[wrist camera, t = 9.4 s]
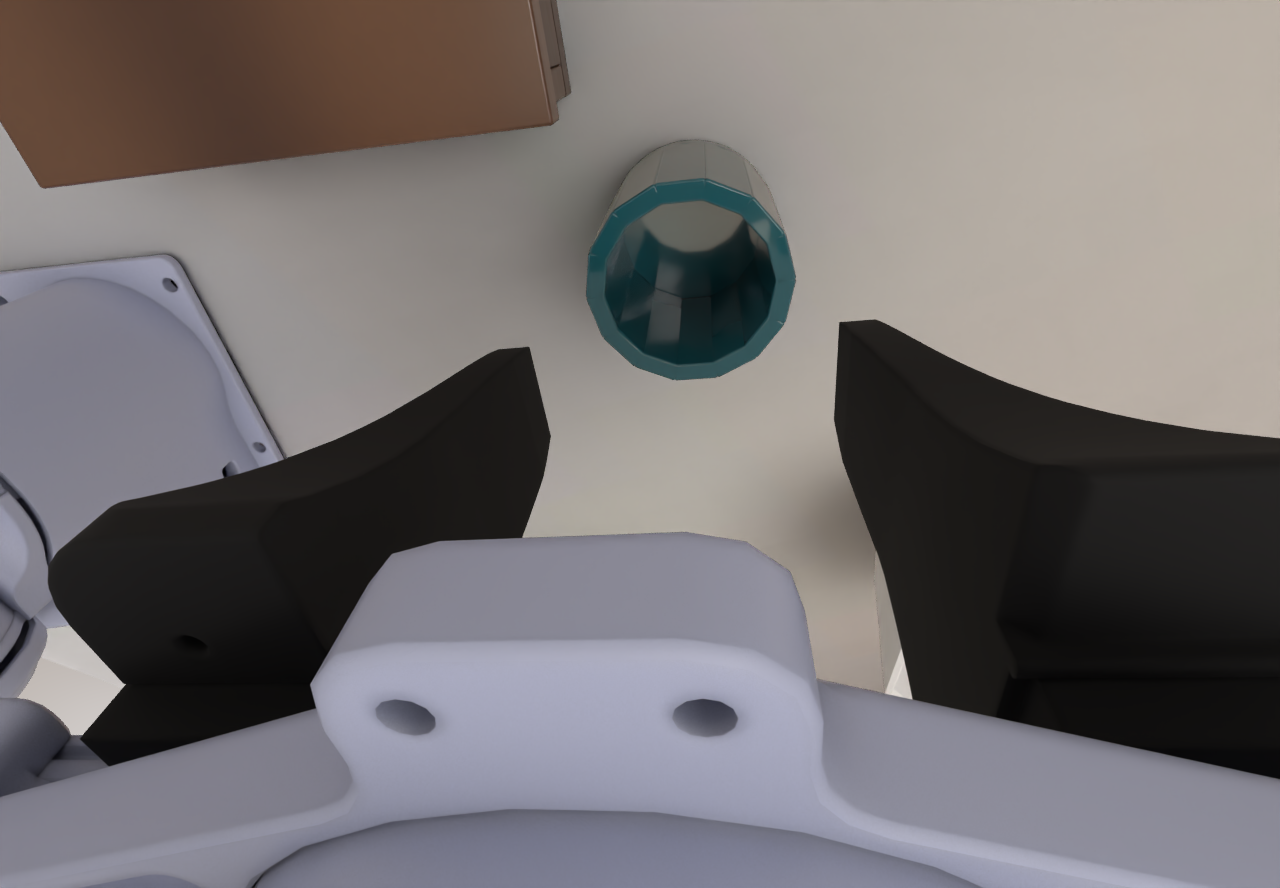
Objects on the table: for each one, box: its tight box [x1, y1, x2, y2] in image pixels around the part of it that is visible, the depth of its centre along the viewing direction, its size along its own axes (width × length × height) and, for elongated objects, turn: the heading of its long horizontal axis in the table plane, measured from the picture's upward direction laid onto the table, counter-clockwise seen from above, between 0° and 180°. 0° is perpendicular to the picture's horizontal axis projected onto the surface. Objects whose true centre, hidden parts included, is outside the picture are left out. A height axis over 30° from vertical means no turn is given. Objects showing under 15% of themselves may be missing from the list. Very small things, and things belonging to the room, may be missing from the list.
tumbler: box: [586, 140, 796, 380], centre depth 18 cm, size 5×5×6 cm
